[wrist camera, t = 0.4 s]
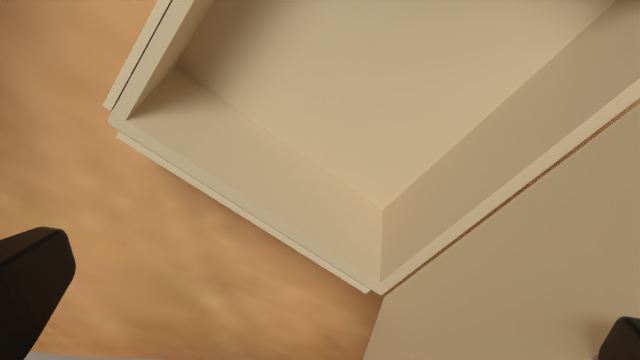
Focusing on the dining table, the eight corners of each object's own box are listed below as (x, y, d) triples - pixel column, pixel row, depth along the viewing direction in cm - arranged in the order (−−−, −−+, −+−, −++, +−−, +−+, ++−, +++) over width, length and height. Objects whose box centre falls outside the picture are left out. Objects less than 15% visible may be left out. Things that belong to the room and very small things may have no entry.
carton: (151, 65, 21) (93, 123, 17) (433, -433, 13) (447, -551, 9) (379, 220, 25) (375, 300, 21) (732, -92, 16) (846, -61, 12)
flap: (384, 296, 20) (316, 495, 13) (815, -31, 12) (1235, 34, 5) (393, 304, 20) (330, 507, 13) (829, -17, 12) (1268, 66, 5)
